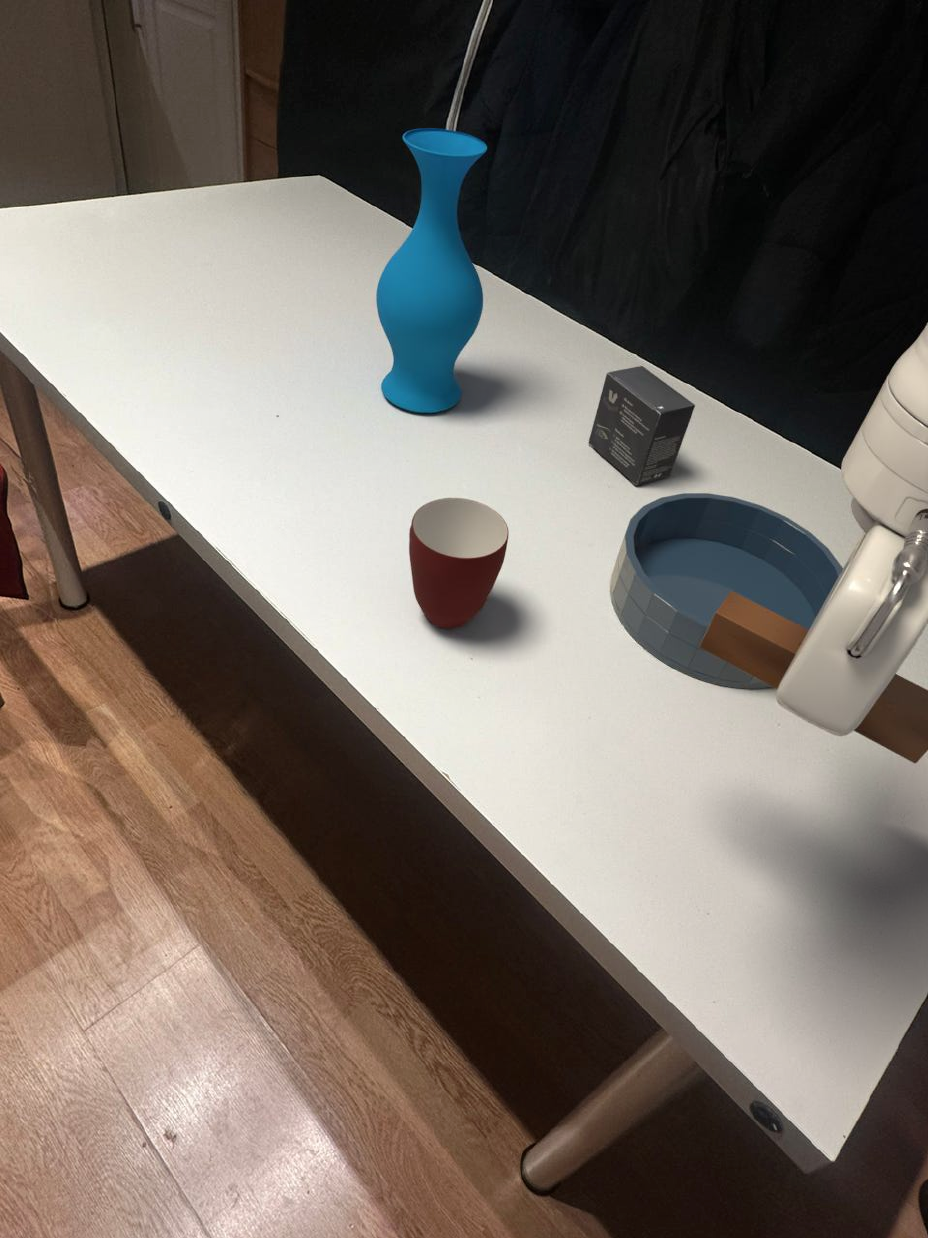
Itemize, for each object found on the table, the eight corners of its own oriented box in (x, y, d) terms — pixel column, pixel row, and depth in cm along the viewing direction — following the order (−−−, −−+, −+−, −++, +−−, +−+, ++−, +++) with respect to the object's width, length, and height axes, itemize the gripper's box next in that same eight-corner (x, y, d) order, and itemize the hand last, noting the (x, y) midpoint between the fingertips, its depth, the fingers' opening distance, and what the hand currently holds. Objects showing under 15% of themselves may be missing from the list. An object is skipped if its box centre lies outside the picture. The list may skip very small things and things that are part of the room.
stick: (925, 736, 46) (954, 702, 44) (915, 764, 45) (945, 731, 42) (713, 625, 50) (731, 589, 48) (698, 647, 49) (715, 611, 47)
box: (672, 477, 95) (698, 404, 88) (635, 487, 92) (659, 413, 86) (622, 435, 100) (643, 363, 93) (586, 444, 98) (605, 370, 91)
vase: (473, 377, 106) (508, 134, 86) (464, 428, 97) (501, 169, 77) (381, 362, 106) (395, 115, 86) (363, 412, 97) (374, 148, 77)
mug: (368, 589, 75) (372, 501, 68) (435, 558, 79) (446, 472, 72) (441, 660, 70) (455, 572, 63) (509, 622, 74) (529, 536, 67)
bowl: (847, 602, 82) (875, 557, 78) (780, 727, 69) (810, 681, 65) (663, 514, 89) (680, 468, 85) (571, 612, 76) (585, 563, 72)
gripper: (991, 625, 29) (822, 830, 39) (1053, 413, 42) (915, 606, 52) (820, 546, 31) (700, 759, 41) (929, 367, 44) (819, 561, 54)
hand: (821, 672), depth 46 cm, fingers closed on stick, 2 cm apart
